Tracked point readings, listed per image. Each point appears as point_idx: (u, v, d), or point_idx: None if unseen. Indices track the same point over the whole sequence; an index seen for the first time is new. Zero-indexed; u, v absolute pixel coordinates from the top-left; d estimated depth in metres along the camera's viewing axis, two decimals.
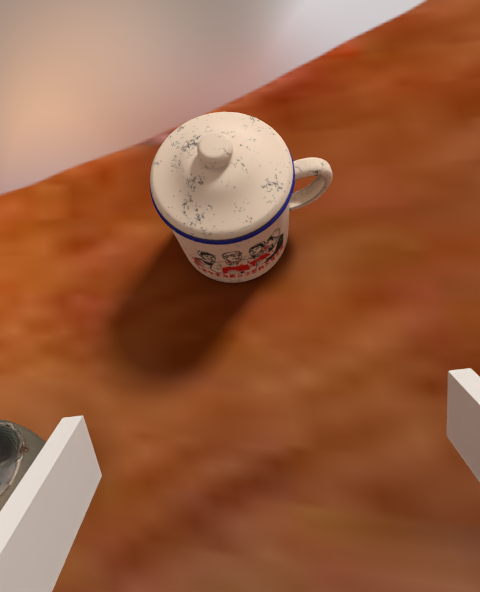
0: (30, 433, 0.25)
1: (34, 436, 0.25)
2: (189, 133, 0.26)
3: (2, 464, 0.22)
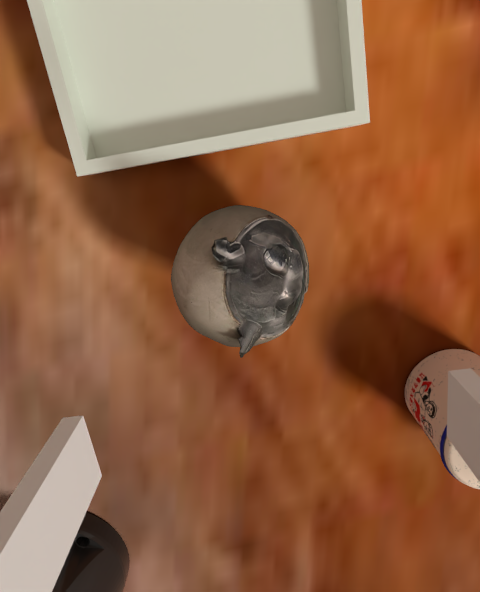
0: None
1: None
2: None
3: (283, 319, 0.30)
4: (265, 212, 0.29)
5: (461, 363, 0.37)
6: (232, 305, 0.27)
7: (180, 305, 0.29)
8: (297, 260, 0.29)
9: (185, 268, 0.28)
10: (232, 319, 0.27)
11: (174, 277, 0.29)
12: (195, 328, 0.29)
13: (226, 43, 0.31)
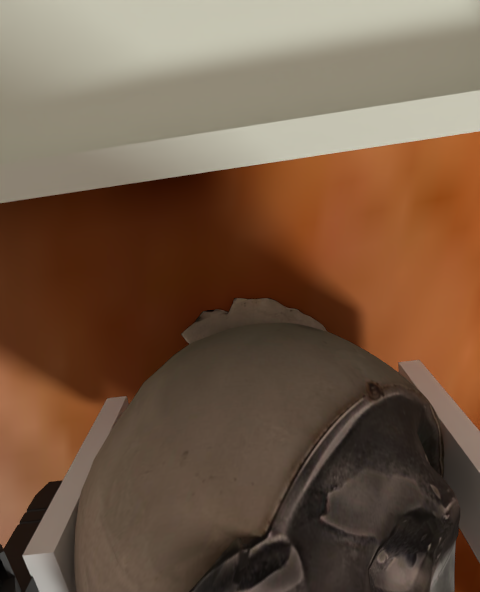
0: None
1: None
2: None
3: None
4: (358, 372, 0.09)
5: None
6: None
7: None
8: (454, 527, 0.09)
9: (94, 576, 0.08)
10: None
11: (75, 558, 0.09)
12: None
13: None
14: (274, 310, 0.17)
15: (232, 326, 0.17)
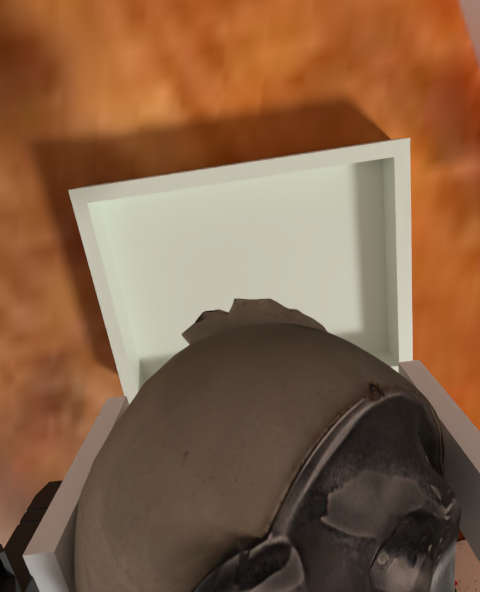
0: None
1: None
2: None
3: None
4: (359, 372, 0.09)
5: None
6: None
7: None
8: (455, 528, 0.09)
9: (94, 576, 0.08)
10: None
11: (75, 559, 0.09)
12: None
13: (276, 291, 0.32)
14: (275, 311, 0.17)
15: (232, 326, 0.16)
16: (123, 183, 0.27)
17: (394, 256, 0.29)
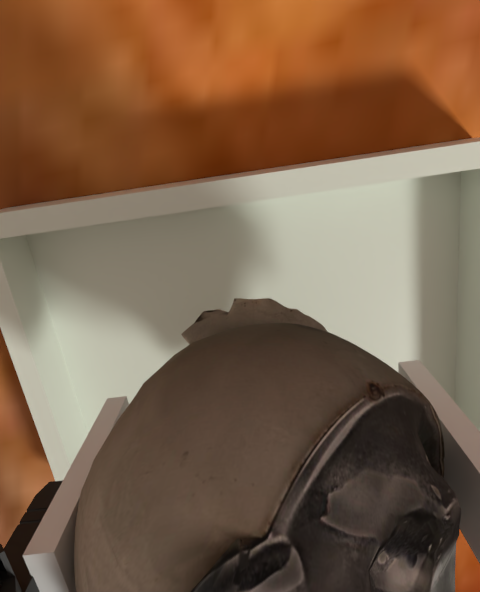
0: None
1: None
2: None
3: None
4: (359, 372, 0.09)
5: None
6: None
7: None
8: (455, 528, 0.09)
9: (94, 576, 0.08)
10: None
11: (75, 559, 0.09)
12: None
13: None
14: (275, 311, 0.17)
15: (232, 326, 0.16)
16: (50, 208, 0.17)
17: None
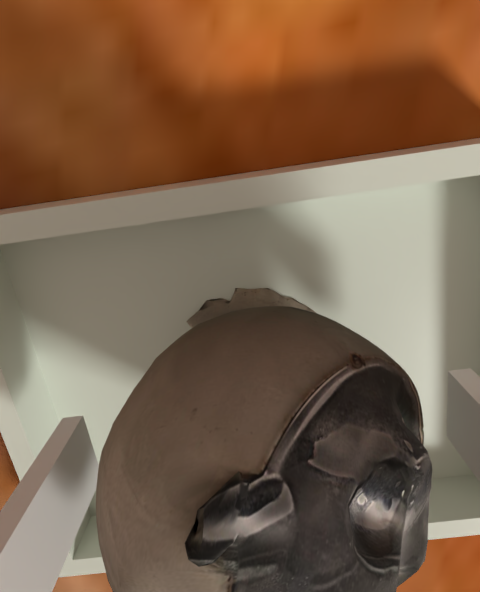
0: None
1: None
2: None
3: None
4: (343, 345, 0.11)
5: None
6: None
7: (110, 582, 0.11)
8: (426, 479, 0.11)
9: (116, 515, 0.10)
10: None
11: (97, 507, 0.11)
12: None
13: None
14: (272, 299, 0.18)
15: None
16: (21, 215, 0.14)
17: None
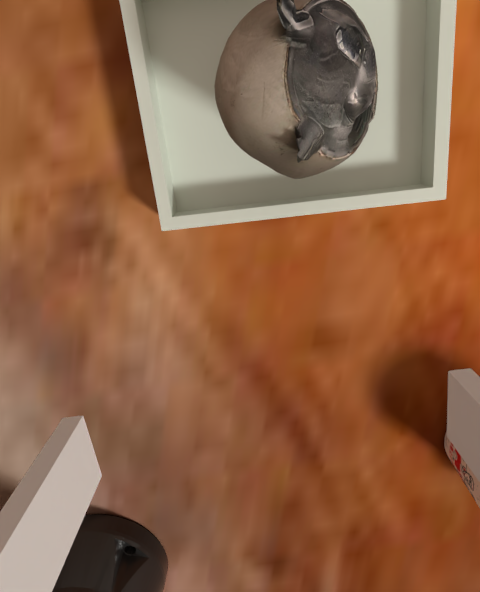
0: None
1: None
2: None
3: (346, 140, 0.25)
4: None
5: None
6: (293, 92, 0.22)
7: (225, 106, 0.24)
8: (372, 58, 0.23)
9: (236, 50, 0.22)
10: (291, 113, 0.22)
11: (221, 72, 0.24)
12: (241, 140, 0.25)
13: None
14: None
15: None
16: None
17: (435, 63, 0.29)
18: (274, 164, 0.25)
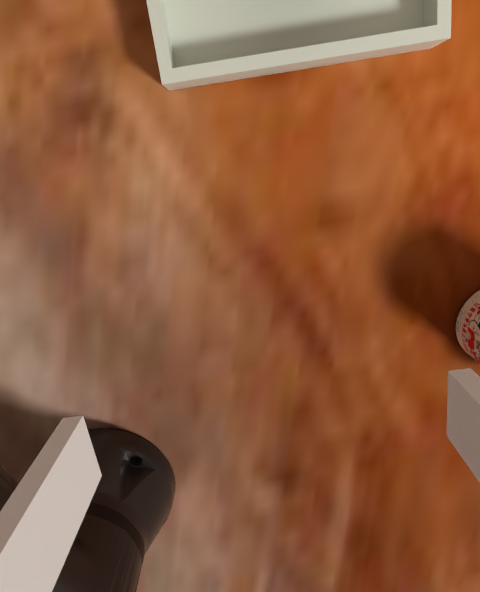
0: None
1: None
2: None
3: None
4: None
5: None
6: None
7: None
8: None
9: None
10: None
11: None
12: None
13: None
14: None
15: None
16: None
17: None
18: None
